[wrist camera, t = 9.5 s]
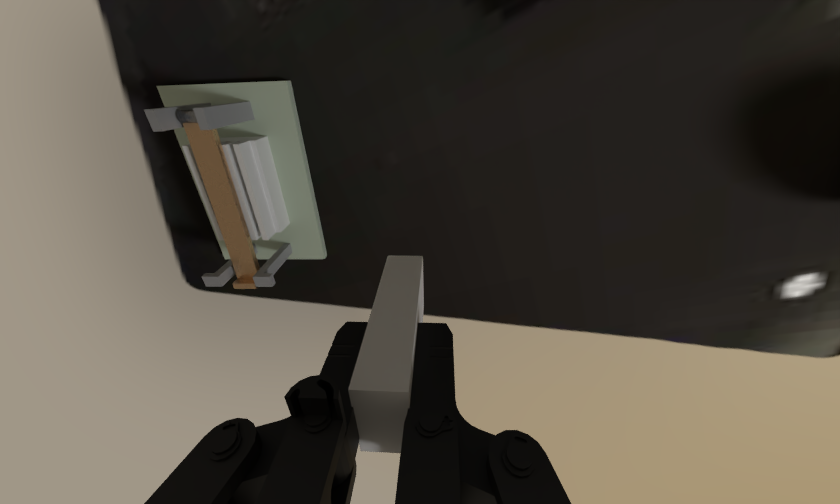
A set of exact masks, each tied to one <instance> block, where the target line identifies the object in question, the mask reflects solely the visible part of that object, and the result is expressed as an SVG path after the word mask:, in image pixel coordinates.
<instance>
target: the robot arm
mask: <svg viewBox="0 0 840 504" xmlns="http://www.w3.org/2000/svg"><path fill="white" fill-rule="evenodd" d="M423 309H424V294H423V256H388V257H387V261H386V264H385V267H384V271H383V274H382V277H381V281H380V284H379V287H378V291H377V294H376V298H375V301H374V304H373V308H372V311H371V314H370V318H369V321H368V322H346V323H345V324H344V325H343V326H342V327H341V328H340V329H339V331H338V332H337V333H336V336H335V339H334V341H333V343H332V346H331V348H330V351H329V353H328V357H327V358H326V361H325V363H324V365H323V368H322V371H321V373H320V375H317V376H310V377H307V378H305V379H303V380H300V381H299V382H298V383H296V384H295V385H294V386H293V387H291V389H290V390H289V392H288V393H287V394H286V395H285V400H286V402H287V405H288V408H289V410H290V414H291V416H290V417H288V418H285V419H283V420H280V421H277V422H273V423H269V424H265V425H262V426H258V427H255V426H254V424H253V423H252V422H251V421H249V420H248V419H242V418H236V419H232V420H228V421H225V422H224V423H222V424H220V425H218V426H216V427H215V428H213V429H212V430H211V431H210V432H209V433H208V434H207V435H206V436H204V438H203V439H202V440H201V441H200V442H199V443H198V444H197V445H196V446H195V448H194V449H193V450H192V451H191V452H190V453H189V454H188V455H187V457H186V458H185V459H184V460H183V461H182V462H181V463H180V464H179V465H178V467H177V468H176V469H175V470H174V471H173V472H172V473H171V474H170V476H169V477H168V478H167V479H166V480H165V481H164V483H162V484H161V486H160V487H159V488H158V489H157V490H156V491H155V492H154V493H153V495H152V496H151V497H150V498H149V499H148V500H147V501H146V502H145V503H144V504H350V501H351V496H352V491H353V486H354V482H355V477H356V461H355V457H356V453H357V448H358V444H359V445H360V449H361V451H370V452H390V453H401V456H400V465H399V473H398V482H397V491H396V500H395V504H571V502H570V500H569V499H568V497H567V494H566V492H565V490H564V489H563V486H562V484H561V482H560V480H559V479H558V476H557V475H556V472H555V471H554V469H553V467H552V465H551V463H550V461H549V459H548V457H547V455H546V453H545V451H544V450H543V449H542V447H541V446H540V444H539V443H538V442H537V441H536V440H534V439H533V438H532V437H531V436H529V435H528V434H525V433H523V432H520V431H517V430H505V431H503V432H501V433H499V434H497V435H496V436H495V435H493V434H490V433H488V432H485V431H482V430H480V429H478V428H476V427H474V426H472V425H470V424H469V423H468V422H467V421H466V420H464V418H463V417H462V416H461V414H460V413H459V411H458V409H457V406H456V401H455V383H454V382H455V381H454V356H453V334H452V332H451V331H450V329H449V327H448V326H447V324H446V323H422V322H423Z"/></svg>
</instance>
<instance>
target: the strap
mask: <svg viewBox="0 0 840 504" xmlns="http://www.w3.org/2000/svg"><path fill="white" fill-rule="evenodd" d="M177 118H178V120H179V121H180V122H181V123H182V124H183V126H184V129H185V131H186V134H187V137H188V140H189V143H190V146H191V148H192V151H193V154H194V157H195V160H196V162H197V165H198V168H199V171H200V174H201V177H202V179H203V182H204V185H205V188H206V191H207V193H208V196H209V199H210V202H211V205H212V208H213V210H214V213H215V216H216V219H217V222H218V225H219V227H220V230H221V233H222V236H223V239H224V241H225V244H226V247H227V250H228V253H229V256H230V258H231V261H232V264H233V267H234V270H235V273H236V275H237V278H238V279H237V280H236V281H235V282H234V283H233V287H234V289H256V288H257V287H256V285H255V283H254V280H253V276H254V275H255V274H256V273H257V271H258V270H259V269H260V267H259V264H258V261H257V257H256V254H255V251H254V248H253V244H252V241H251V238H250V235H249V232H248V228H247V225H246V222H245V219H244V215H243V212H242V209H241V206H240V203H239V199H238V196H237V193H236V190H235V186H234V183H233V180H232V177H231V174H230V170H229V167H228V164H227V161H226V158H225V154H224V151H223V148H222V145H221V141H220V138H219V135H218V132H217V129H212V130H200V127H199V124H198V122H197V119H196V116H195V113H194V110H178V112H177Z"/></svg>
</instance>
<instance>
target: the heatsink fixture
mask: <svg viewBox="0 0 840 504" xmlns="http://www.w3.org/2000/svg"><path fill="white" fill-rule="evenodd" d="M157 89H158V91H159V94H160V96H161V99H162V101H163V104H164V106H165V107H164V108H155V109H147V110H144V111H145V113H146V116H147V118H148V120H149V123H150V125H151V127H152V130H153V132H156V131H167V130H172V129H174V132H175V134H176V137H177V139H178V142H179V144H180V147H181V149H182V152H183V154H184V157H185V160H186V162H187V165H188V167H189V170H190V172H191V175H192V177H193V180H194V182H195V185H196V187H197V190H198V192H199V195H200V197H201V200H202V202H203V205H204V208H205V210H206V213H207V215H208V218H209V220H210V223H211V225H212V228H213V230H214V233H215V235H216V238H217V240H218V243H219V245H220V248H221V250H222V253H223V256H224V258H225V259H230V260H229V261H228V262H227V263H226V264H225V265H224V266H222V267H221V268H220V269H219V270H218V271H217V272H216V273H205V274H204V275H203V276H202V279H203V281H204V283H205V285H206V286H223V285H224V284H225V283H226V282H227V281H228V280H230V279H231V278H232V277H233V276H234V275H235V274H236V273H235V270H234V267H233V264H232V261H231V258H230V256H229V253H228V250H227V247H226V244H225V241H224V239H223V236H222V233H221V230H220V227H219V225H218V222H217V219H216V216H215V213H214V210H213V208H212V205H211V202H210V199H209V196H208V193H207V191H206V188H205V185H204V182H203V179H202V177H201V174H200V171H199V168H198V165H197V162H196V160H195V157H194V154H193V151H192V148H191V146H190V143H189V140H188V137H187V134H186V131H185V129H184V126H183V124H182V123H181V122H180V121H179V120H178V118H177V112H178V110H194V113H195V116H196V119H197V122H198V124H199V127H200V130H212V129H217V132H218V135H219V138H220V141H221V145H222V148H223V151H224V154H225V158H226V161H227V164H228V167H229V170H230V174H231V177H232V180H233V183H234V186H235V190H236V193H237V196H238V199H239V203H240V206H241V209H242V212H243V215H244V219H245V222H246V225H247V228H248V232H249V235H250V238H251V241H252V244H253V248H254V251H255V254H256V257H257V259H269V260H268V261H267V262H266V263H265V264H264V265H263V266H262V267H261V268H260V269H259V270H258V271H257V273H256V274H255V275H254V276H253V280H254V283H255V285H256V287H273V286H274V284H275V280H274V277H273V275H274V274H275V272H276V271H277V270H278V269H279V268H280V267H281V265H282V264H283V263H284V262H285V261H286V259H325V258H326V256H327V252H326V248H325V243H324V238H323V233H322V228H321V224H320V219H319V214H318V209H317V204H316V200H315V195H314V190H313V185H312V180H311V176H310V171H309V166H308V161H307V156H306V152H305V147H304V142H303V137H302V133H301V128H300V123H299V118H298V113H297V109H296V104H295V99H294V94H293V89H292V85H291V81H267V82H243V83H219V84H195V85H170V86H157Z"/></svg>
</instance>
